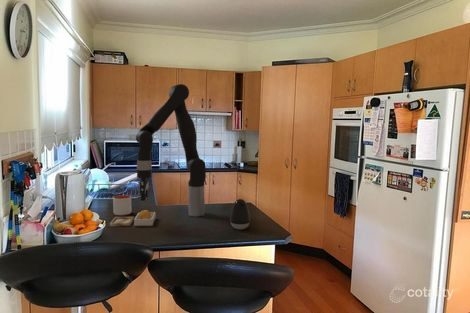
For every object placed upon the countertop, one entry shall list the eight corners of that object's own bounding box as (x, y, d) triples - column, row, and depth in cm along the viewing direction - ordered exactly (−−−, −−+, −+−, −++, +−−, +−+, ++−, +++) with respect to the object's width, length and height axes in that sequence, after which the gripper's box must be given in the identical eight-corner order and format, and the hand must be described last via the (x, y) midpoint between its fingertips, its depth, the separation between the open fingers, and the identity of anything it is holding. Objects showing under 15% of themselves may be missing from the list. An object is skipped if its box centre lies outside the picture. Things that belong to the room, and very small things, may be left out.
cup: (126, 216, 188) (125, 199, 187) (110, 215, 190) (109, 198, 189) (134, 212, 198) (134, 195, 197) (119, 211, 200) (119, 194, 199)
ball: (151, 219, 181) (151, 208, 180) (150, 222, 175) (150, 211, 175) (140, 219, 180) (140, 208, 180) (138, 223, 174) (138, 211, 174)
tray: (133, 219, 183) (133, 216, 183) (129, 225, 171) (129, 223, 171) (115, 219, 182) (115, 217, 182) (109, 226, 170) (109, 223, 170)
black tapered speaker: (233, 232, 163) (233, 202, 161) (227, 225, 173) (228, 197, 171) (252, 230, 166) (253, 200, 164) (246, 224, 176) (246, 196, 174)
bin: (155, 218, 185) (155, 212, 185) (152, 225, 172) (152, 219, 171) (138, 218, 184) (138, 212, 184) (134, 226, 171) (134, 219, 170)
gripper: (149, 170, 168) (149, 201, 170) (153, 167, 182) (153, 195, 184) (134, 170, 167) (134, 201, 169) (139, 166, 182) (139, 195, 183)
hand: (144, 198), depth 177 cm, fingers open, 8 cm apart
